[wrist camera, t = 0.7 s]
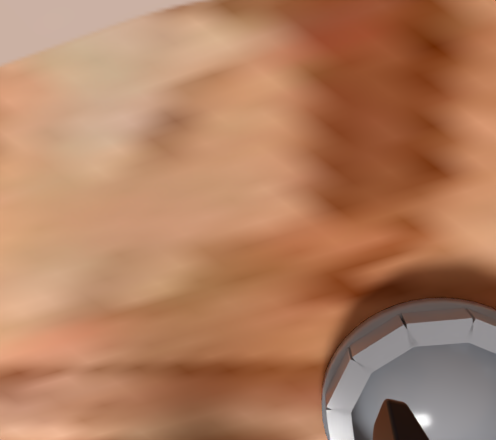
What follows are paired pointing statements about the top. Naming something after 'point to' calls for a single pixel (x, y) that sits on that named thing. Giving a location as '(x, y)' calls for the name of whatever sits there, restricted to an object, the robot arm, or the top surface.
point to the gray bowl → (416, 371)
